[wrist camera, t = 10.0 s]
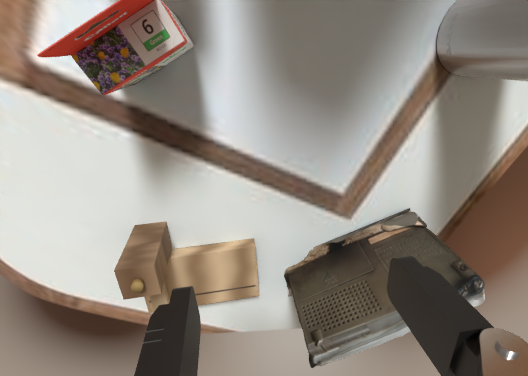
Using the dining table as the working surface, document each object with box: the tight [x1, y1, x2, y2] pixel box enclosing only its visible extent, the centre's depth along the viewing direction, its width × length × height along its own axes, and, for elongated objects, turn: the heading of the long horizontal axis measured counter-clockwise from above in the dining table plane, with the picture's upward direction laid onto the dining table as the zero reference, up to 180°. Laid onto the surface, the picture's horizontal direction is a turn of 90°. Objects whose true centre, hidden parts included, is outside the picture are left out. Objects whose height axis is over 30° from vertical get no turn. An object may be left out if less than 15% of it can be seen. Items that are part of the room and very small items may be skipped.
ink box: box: [37, 0, 194, 95], centre depth 24 cm, size 4×8×15 cm, turn 120°
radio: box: [284, 208, 485, 368], centre depth 40 cm, size 23×9×15 cm, turn 109°
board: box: [144, 239, 259, 313], centre depth 42 cm, size 16×9×2 cm, turn 93°
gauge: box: [114, 222, 172, 311], centre depth 37 cm, size 4×12×10 cm, turn 3°
